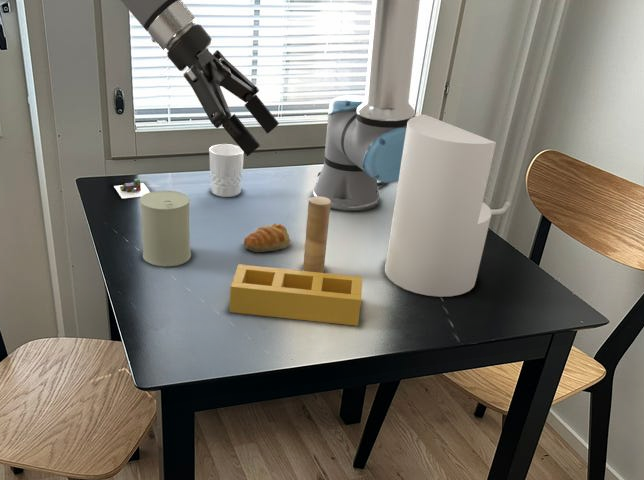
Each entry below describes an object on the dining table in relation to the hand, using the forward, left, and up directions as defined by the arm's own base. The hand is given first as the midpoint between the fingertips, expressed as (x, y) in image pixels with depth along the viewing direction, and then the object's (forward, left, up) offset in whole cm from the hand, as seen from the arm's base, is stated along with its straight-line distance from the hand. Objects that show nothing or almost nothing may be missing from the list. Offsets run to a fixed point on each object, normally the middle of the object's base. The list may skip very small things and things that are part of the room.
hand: (264, 139), depth 125 cm
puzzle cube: (+7, -44, -24) cm, 51 cm away
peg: (-7, +8, -24) cm, 26 cm away
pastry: (-5, -5, -24) cm, 25 cm away
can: (+15, -10, -24) cm, 30 cm away
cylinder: (-26, +20, -24) cm, 41 cm away
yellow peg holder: (+4, +18, -24) cm, 30 cm away
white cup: (-12, -34, -24) cm, 43 cm away
